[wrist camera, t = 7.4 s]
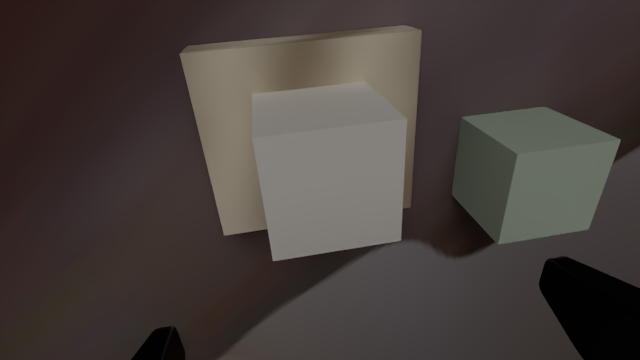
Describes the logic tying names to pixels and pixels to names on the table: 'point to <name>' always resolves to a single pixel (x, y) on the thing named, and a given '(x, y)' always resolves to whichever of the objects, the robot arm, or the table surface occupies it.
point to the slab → (280, 75)
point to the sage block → (531, 172)
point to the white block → (329, 168)
